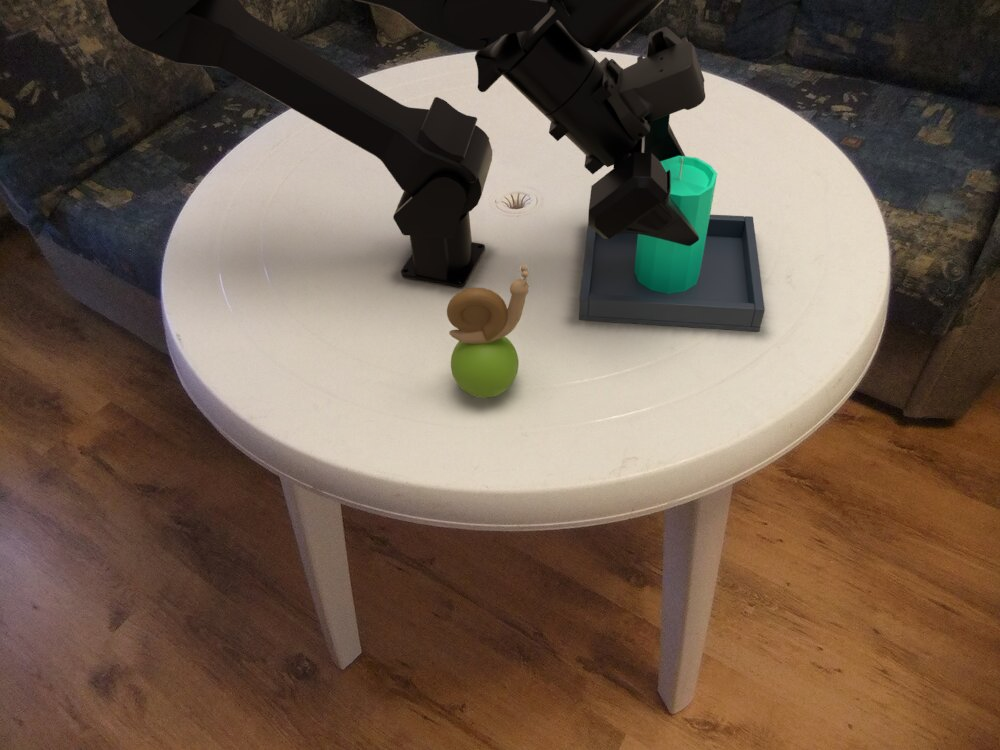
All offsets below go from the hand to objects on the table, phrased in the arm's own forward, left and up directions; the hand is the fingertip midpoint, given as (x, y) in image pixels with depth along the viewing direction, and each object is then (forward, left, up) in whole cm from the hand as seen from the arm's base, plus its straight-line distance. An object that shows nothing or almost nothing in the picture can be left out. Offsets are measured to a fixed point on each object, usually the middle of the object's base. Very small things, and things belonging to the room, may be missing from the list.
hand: (693, 210), depth 69 cm
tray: (0, +1, -7) cm, 7 cm away
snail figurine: (-18, +12, -8) cm, 23 cm away
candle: (0, +1, -7) cm, 7 cm away
